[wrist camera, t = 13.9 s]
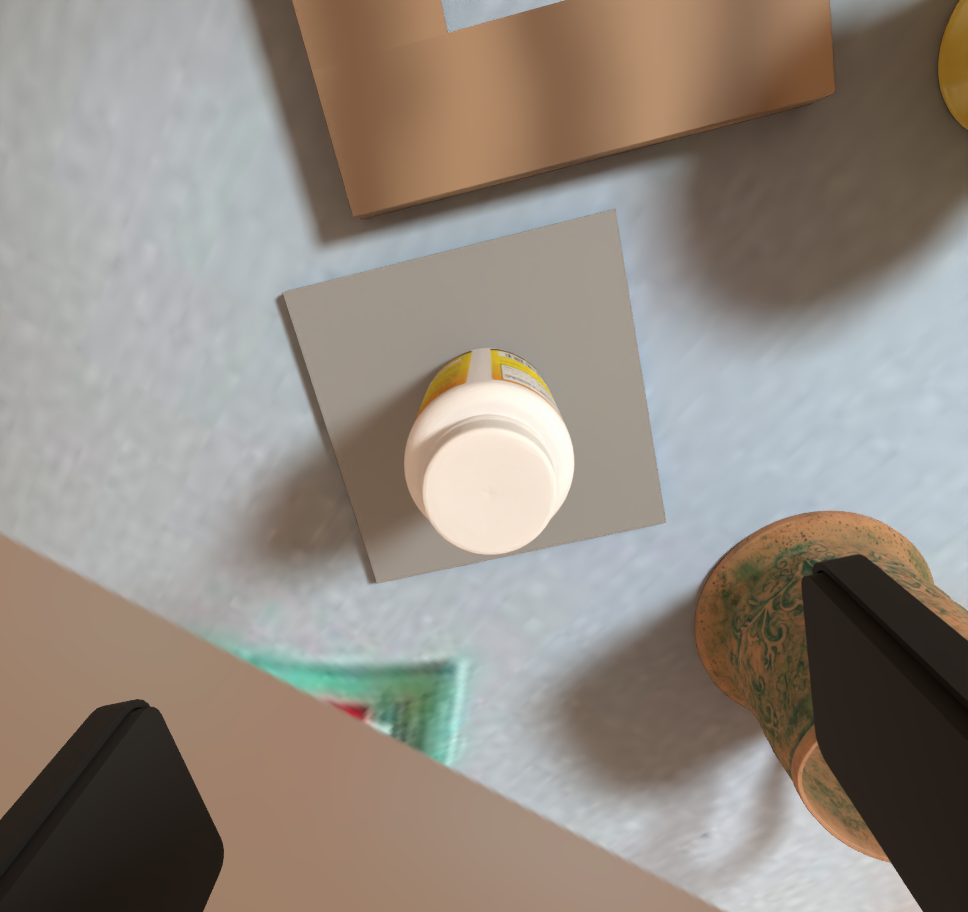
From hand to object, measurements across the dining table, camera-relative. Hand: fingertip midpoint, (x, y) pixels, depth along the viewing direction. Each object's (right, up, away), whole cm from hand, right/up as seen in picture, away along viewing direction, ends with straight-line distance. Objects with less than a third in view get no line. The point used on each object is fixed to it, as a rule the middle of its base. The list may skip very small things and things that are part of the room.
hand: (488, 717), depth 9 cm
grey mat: (0, +6, +19) cm, 20 cm away
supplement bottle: (0, +6, +19) cm, 20 cm away
